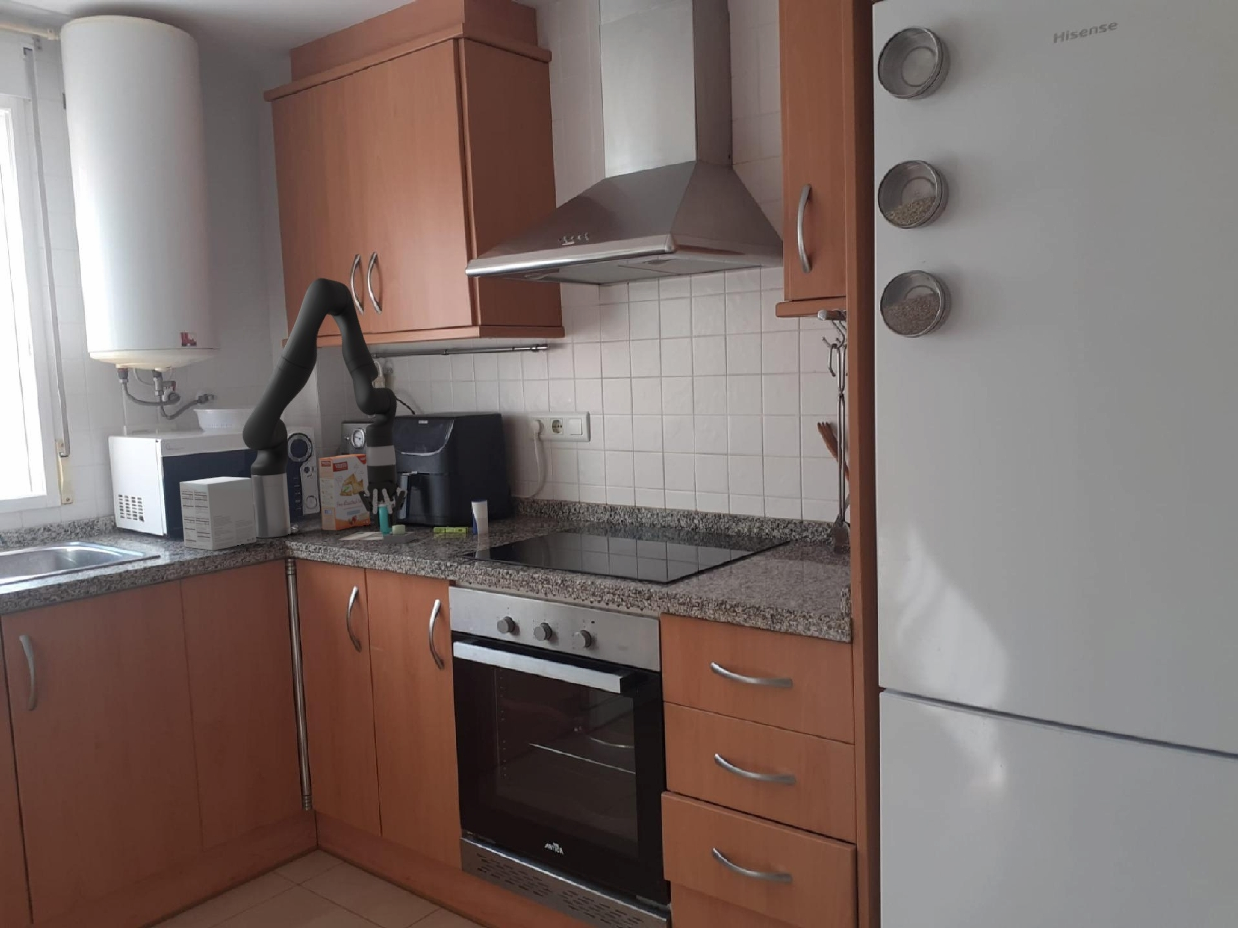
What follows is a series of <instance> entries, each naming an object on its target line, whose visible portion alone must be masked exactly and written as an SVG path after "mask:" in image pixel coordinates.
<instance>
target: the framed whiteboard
mask: <svg viewBox="0 0 1238 928" xmlns="http://www.w3.org/2000/svg"><path fill="white" fill-rule="evenodd" d="M390 533H392V531H391V532H390ZM337 540H338V541H383V535H382V532H380V531H376V532H375V531H358V532H355V533H352V534H350V535H345V536H344V537H342V538H339V539H337Z"/></svg>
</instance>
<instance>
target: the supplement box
mask: <svg viewBox="0 0 1238 928" xmlns="http://www.w3.org/2000/svg"><path fill="white" fill-rule="evenodd" d="M179 491H180V492H179V493H180V505H181V515H182V518H181V519H182V528H183V530H182V531H183V540H184V541H183V543H184V547H185V548H193V549H197V550H199V549H200V550H206V551H217V550H223V549H226V548H232V547H233V548H234V547H238V546H237V545H239V546H242V545H241V544H244V545H248V544H252V543H253V544H254V543H256V542H257V537H256V531H255V519H254V506H253V491H252V479H251V477H234V476H233V477H232V476H219V477H212V478H211V477H210V478H209V477H208V478H204V479H197V480H187V481H179Z"/></svg>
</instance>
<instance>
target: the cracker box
mask: <svg viewBox="0 0 1238 928" xmlns="http://www.w3.org/2000/svg"><path fill="white" fill-rule="evenodd" d="M318 470H319V474H318V475H319V489H320V490H319V491H320V492H319V493H320V506H321V509H320V510H321V525H322V526H321V527H322V530H324V531H325V530H326V531H339V530H345V529H349V528H352V527H364V526H363V525H366V526H369V524H370V525H371V517H370V516H371V515H370V513H371V512H368V511H367V510H366V508H365V506H364V504H363V502H362V500H361V498H360V496H359V492H360V491H363V490H365V489H367V486H368V484H369V482H368V475H367V461H366V453H353V454H343V455H335V456H329V457H320V458H318Z"/></svg>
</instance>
